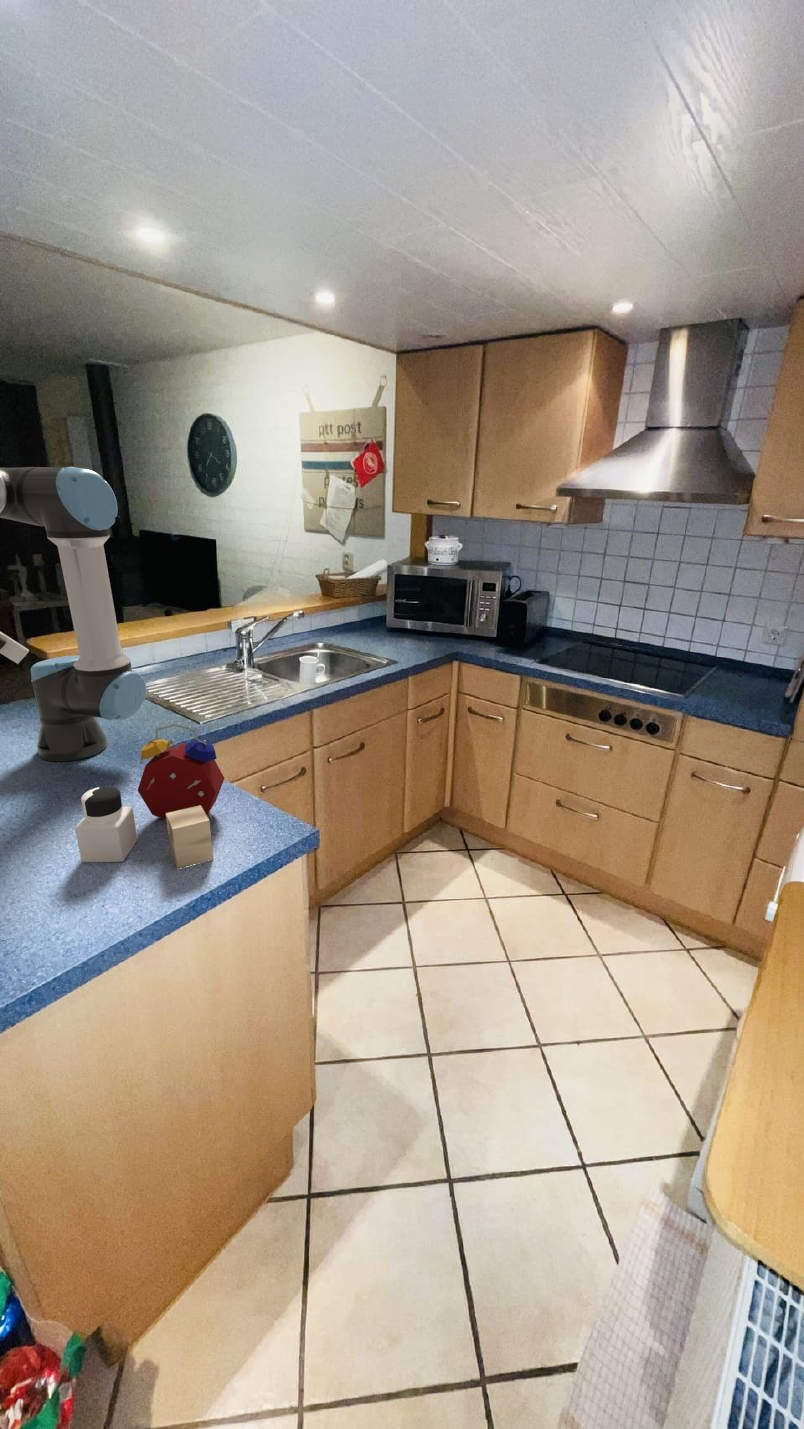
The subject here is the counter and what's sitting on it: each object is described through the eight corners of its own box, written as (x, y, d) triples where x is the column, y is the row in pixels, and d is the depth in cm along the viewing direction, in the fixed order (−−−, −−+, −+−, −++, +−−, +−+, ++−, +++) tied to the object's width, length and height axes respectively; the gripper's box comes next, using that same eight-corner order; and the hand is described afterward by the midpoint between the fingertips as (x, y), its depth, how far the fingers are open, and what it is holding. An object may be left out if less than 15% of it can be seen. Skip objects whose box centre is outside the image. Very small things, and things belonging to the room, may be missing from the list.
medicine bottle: (138, 840, 108) (129, 782, 104) (123, 862, 102) (113, 801, 97) (98, 840, 108) (87, 782, 104) (80, 863, 101) (68, 801, 97)
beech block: (170, 852, 105) (165, 813, 102) (204, 843, 108) (200, 805, 105) (177, 869, 100) (172, 829, 97) (213, 859, 103) (209, 820, 100)
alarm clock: (227, 810, 119) (219, 718, 112) (215, 833, 111) (205, 735, 104) (155, 808, 119) (142, 716, 112) (136, 831, 111) (122, 734, 104)
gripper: (-145, 571, 89) (8, 664, 103) (-167, 582, 79) (7, 684, 93) (-110, 534, 90) (37, 632, 104) (-127, 541, 79) (39, 648, 93)
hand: (23, 656), depth 98 cm, fingers closed
